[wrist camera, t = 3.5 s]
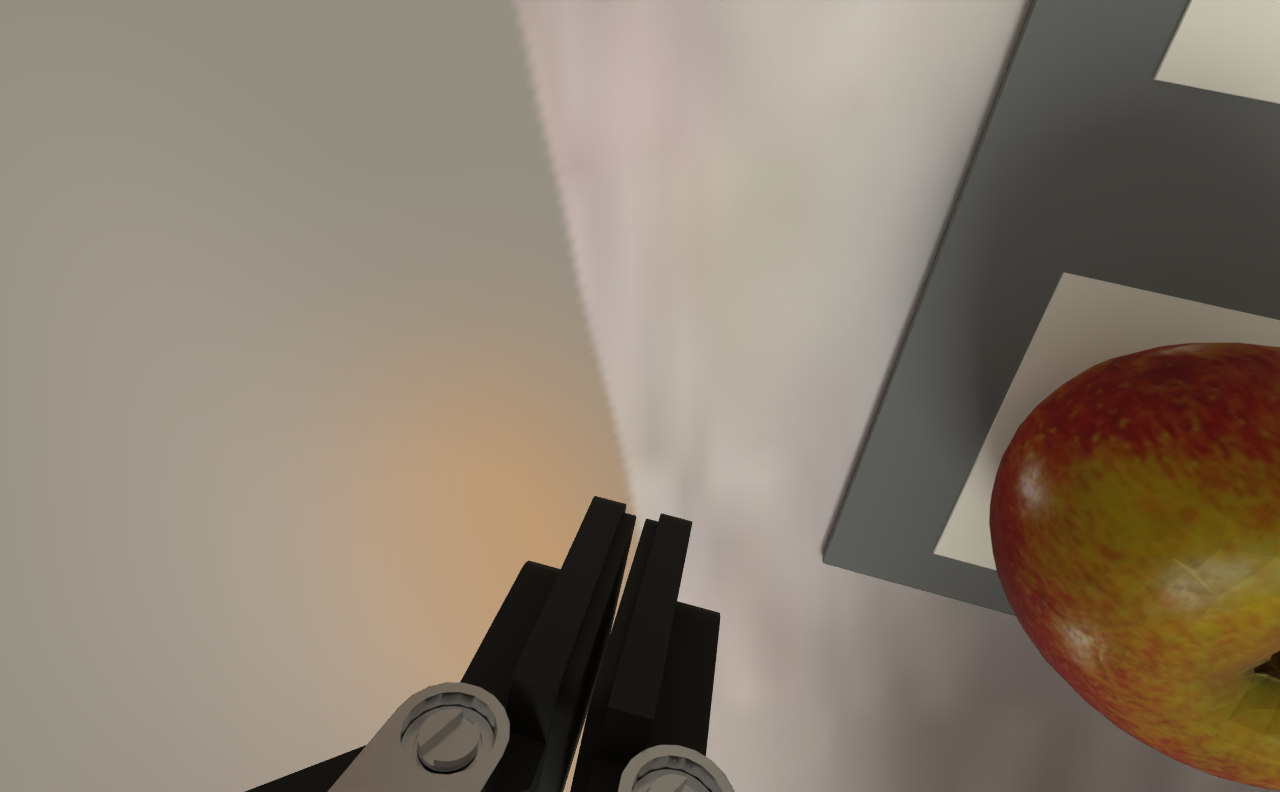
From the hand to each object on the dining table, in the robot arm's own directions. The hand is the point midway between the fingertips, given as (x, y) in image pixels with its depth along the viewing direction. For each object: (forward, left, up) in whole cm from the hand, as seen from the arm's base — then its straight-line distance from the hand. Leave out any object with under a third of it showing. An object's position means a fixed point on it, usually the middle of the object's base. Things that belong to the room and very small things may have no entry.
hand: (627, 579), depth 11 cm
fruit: (0, +12, -10) cm, 16 cm away
